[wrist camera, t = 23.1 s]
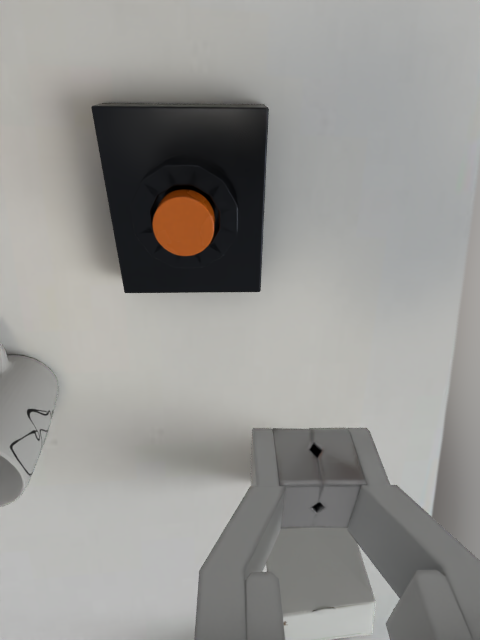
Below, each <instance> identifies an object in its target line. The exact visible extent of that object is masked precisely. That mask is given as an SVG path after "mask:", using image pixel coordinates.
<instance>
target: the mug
mask: <svg viewBox="0 0 480 640" xmlns="http://www.w3.org/2000/svg"><path fill="white" fill-rule="evenodd" d="M57 395H58V381H57V379H56V376H55V375H54V373H53V372H52V371H51V370H50V369H49V368H48V367H47V366H46V365H44V364H43V363H41V362H39V361H37V360H35V359H33V358H30V357H26V356H21V355H9V356H7V354H6V352H5V349H4V347H3V345H2V344H1V343H0V507H2V506H5V505H8V504H10V503H12V502H14V501H15V500H17V499H18V498H19V497H20V496H21V495H22V494H23V492H24V491H25V489H26V487H27V485H28V483H29V480H30V478H31V476H32V473H33V470H34V468H35V465H36V463H37V460H38V458H39V455H40V453H41V450H42V448H43V445H44V442H45V439H46V437H47V433H48V430H49V427H50V423H51V419H52V415H53V411H54V407H55V403H56V400H57Z"/></svg>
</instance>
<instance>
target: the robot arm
mask: <svg viewBox="0 0 480 640" xmlns="http://www.w3.org/2000/svg"><path fill="white" fill-rule="evenodd" d="M312 527H317V528H347V530H348V532H349V533H350V534H351V536H352V537H353V538H354V539H355V541H356V542H357V543H358V545H359V546H360V547H361V549H362V550H363V551H364V552H365V554H366V555H367V556H368V558H369V559H370V560H371V562H372V563H373V564H374V565H375V567H376V568H377V569H378V571H379V572H380V573H381V575H382V576H383V577H384V578H385V580H386V581H387V582H388V584H389V585H390V586H391V588H392V589H393V590H394V591H395V593H396V594H397V595H398V597H399V598H400V600H399V601H398V603H397V605H396V607H395V608H394V610H393V612H392V613H391V615H390V617H389V619H388V620H387V622H386V626H387V630H388V633H389V637H390V640H480V560H479V559H478V558H476V557H475V556H474V555H473V554H472V553H471V552H470V551H469V550H468V549H467V548H465V547H464V546H463V545H462V544H461V543H460V542H459V541H458V540H457V539H456V538H454V537H453V536H452V535H451V534H450V533H449V532H448V531H447V530H446V529H444V528H443V527H442V526H441V525H440V524H439V523H438V522H437V521H436V520H434V519H433V518H432V517H431V516H430V515H429V514H428V513H427V512H426V511H425V510H423V509H422V508H421V507H420V506H419V505H418V504H417V503H416V502H415V501H414V500H412V499H411V498H410V497H409V496H408V495H407V494H406V493H405V492H404V491H402V490H401V489H400V488H399V487H398V486H397V485H390V483H389V480H388V477H387V475H386V472H385V470H384V467H383V465H382V462H381V459H380V457H379V454H378V452H377V449H376V446H375V444H374V441H373V439H372V436H371V434H370V431H369V430H368V429H367V428H309V429H280V428H273V429H272V428H253V429H252V444H251V486H250V488H249V489H248V491H247V493H246V494H245V496H244V498H243V499H242V501H241V503H240V504H239V506H238V508H237V509H236V511H235V513H234V514H233V516H232V518H231V519H230V521H229V523H228V524H227V526H226V527H225V529H224V531H223V532H222V534H221V536H220V537H219V539H218V541H217V542H216V544H215V546H214V547H213V549H212V551H211V552H210V554H209V556H208V557H207V559H206V561H205V562H204V564H203V566H202V567H201V569H200V571H199V582H198V597H197V612H196V626H195V640H285V633H284V623H283V613H282V604H281V594H280V584H279V578H277V577H276V576H275V575H274V574H273V573H272V572H262V571H263V569H264V567H265V565H266V562H267V560H268V558H269V556H270V553H271V551H272V549H273V546H274V544H275V542H276V540H277V537H278V535H279V533H280V529H287V528H312Z"/></svg>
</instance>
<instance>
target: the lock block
mask: <svg viewBox="0 0 480 640" xmlns="http://www.w3.org/2000/svg"><path fill="white" fill-rule="evenodd" d="M268 112H269V109H268V107H267V106H265V105H264V104H159V103H102V104H98V105H94V106H92V113H93V119H94V124H95V130H96V136H97V141H98V147H99V152H100V158H101V163H102V169H103V175H104V180H105V186H106V191H107V197H108V202H109V208H110V214H111V219H112V225H113V230H114V236H115V241H116V247H117V253H118V258H119V264H120V269H121V275H122V280H123V286H124V292H125V293H178V292H260V290H261V267H262V245H263V223H264V201H265V179H266V156H267V134H268ZM179 189H188V190H193V191H196V192H198V193H199V194H201V195H203V196H204V197H205V198H206V199H207V200H208V201H209V203H210V204H211V206H212V208H213V211H214V215H215V225H214V235H213V238H212V240H211V242H210V244H209V245H208V246H207V247H206V248H205V249H204V250H203V251H201V252H200V253H198V254H195V255H191V256H180V255H176V254H173V253H171V252H169V251H167V250H166V249H164V248H163V247H162V246H161V245H160V243H159V242H158V241H157V239H156V237H155V235H154V232H153V224H152V223H153V217H154V214H155V212H156V210H157V207H158V205H159V203H160V202H161V200H162V199H163V198H164V197H165V196H166V195H167V194H169V193H170V192H172V191H175V190H179Z"/></svg>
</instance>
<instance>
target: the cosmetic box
mask: <svg viewBox="0 0 480 640" xmlns="http://www.w3.org/2000/svg"><path fill="white" fill-rule="evenodd" d="M266 567H267V572H272V573H273V574H274V575H275V576H276V577H277V578H279V584H280V594H281V604H282V613H283V623H284V633H285V640H333V639H340V638H348V637H356V636H365V635H372V631H373V624H374V615H375V604H376V601H375V598H374V594H373V591H372V588H371V585H370V582H369V579H368V576H367V572H366V569H365V566H364V563H363V559H362V556H361V553H360V550H359V547H358V544H357V542H356V541H355V539H354V538H353V537H352V536H351V534H350V533H349V532H348V530H347V528H317V527H312V528H287V529H280V533H279V535H278V537H277V540H276V542H275V544H274V546H273V549H272V551H271V553H270V556H269V558H268V560H267V562H266Z"/></svg>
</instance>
